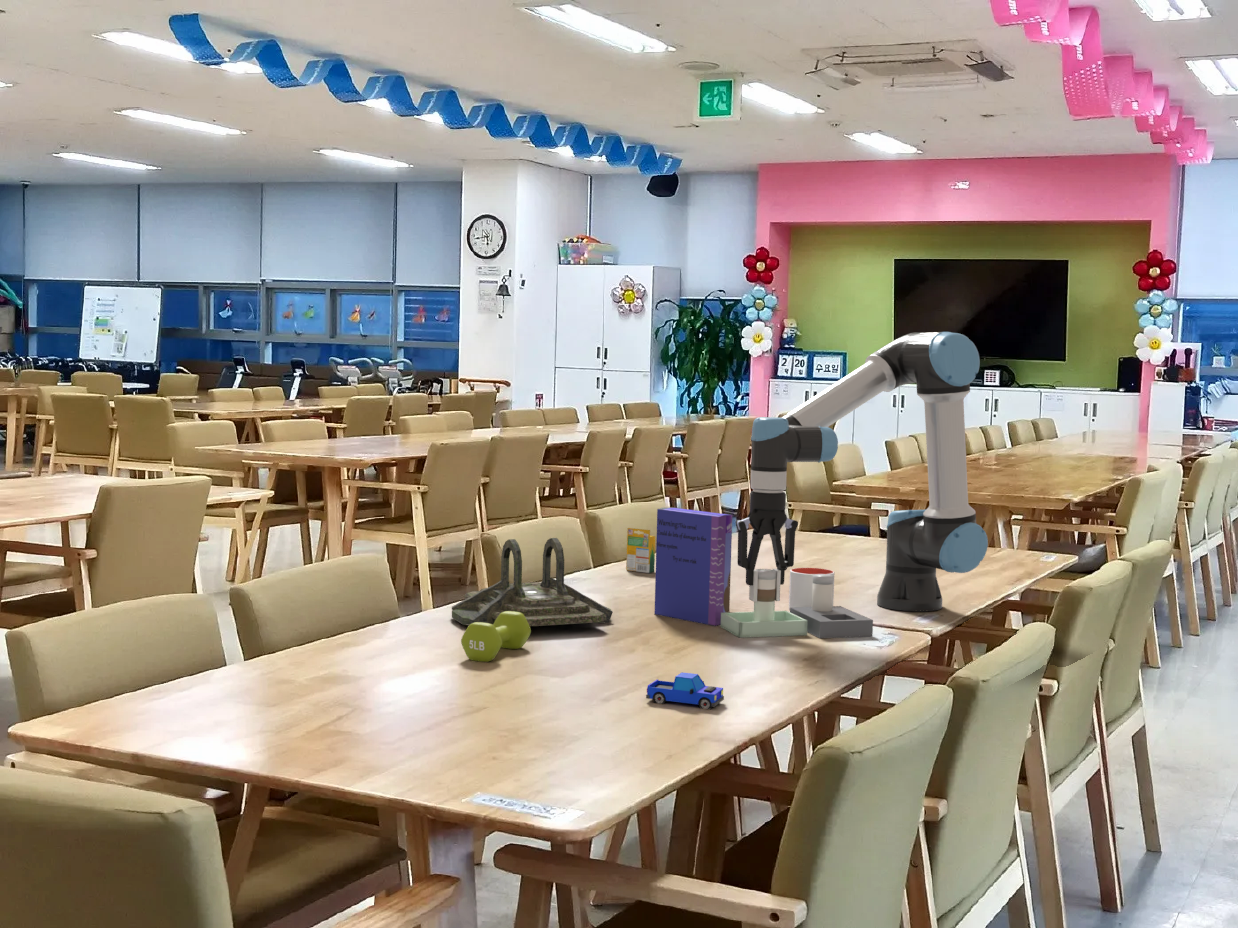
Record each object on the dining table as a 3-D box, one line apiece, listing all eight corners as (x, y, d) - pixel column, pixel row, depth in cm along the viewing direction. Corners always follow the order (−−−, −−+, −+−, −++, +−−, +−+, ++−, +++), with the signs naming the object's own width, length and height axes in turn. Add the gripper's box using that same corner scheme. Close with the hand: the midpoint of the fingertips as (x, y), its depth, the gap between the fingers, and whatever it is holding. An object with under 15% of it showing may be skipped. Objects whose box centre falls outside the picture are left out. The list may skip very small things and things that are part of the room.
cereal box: (729, 623, 300) (732, 514, 298) (715, 626, 297) (718, 515, 295) (668, 611, 312) (671, 506, 310) (654, 614, 308) (657, 507, 306)
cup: (831, 620, 307) (833, 575, 307) (786, 617, 309) (788, 573, 309) (833, 611, 317) (835, 568, 316) (790, 609, 319) (791, 566, 318)
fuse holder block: (839, 621, 305) (841, 572, 305) (872, 636, 290) (874, 584, 289) (789, 623, 302) (791, 573, 301) (819, 638, 287) (821, 585, 286)
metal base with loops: (433, 610, 308) (434, 530, 307) (573, 603, 322) (575, 526, 320) (481, 642, 276) (483, 552, 275) (635, 632, 290) (637, 547, 288)
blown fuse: (769, 619, 295) (771, 568, 295) (777, 623, 291) (779, 571, 290) (750, 620, 294) (751, 569, 293) (757, 624, 290) (759, 572, 289)
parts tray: (786, 624, 300) (786, 610, 300) (807, 635, 290) (807, 620, 289) (720, 626, 296) (720, 612, 296) (739, 637, 285) (739, 622, 285)
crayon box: (654, 572, 368) (656, 529, 367) (649, 573, 365) (650, 530, 365) (631, 569, 372) (632, 526, 371) (625, 570, 369) (626, 527, 368)
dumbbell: (494, 665, 256) (495, 626, 255) (457, 660, 259) (457, 622, 258) (533, 648, 271) (534, 612, 270) (497, 644, 274) (498, 608, 273)
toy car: (713, 713, 226) (714, 683, 226) (644, 704, 230) (645, 675, 230) (724, 703, 232) (725, 674, 232) (657, 695, 237) (658, 667, 236)
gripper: (799, 488, 297) (795, 595, 298) (722, 488, 292) (719, 598, 294) (813, 492, 289) (809, 602, 291) (735, 492, 284) (731, 604, 286)
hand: (764, 599), depth 292 cm, fingers closed on blown fuse, 4 cm apart
